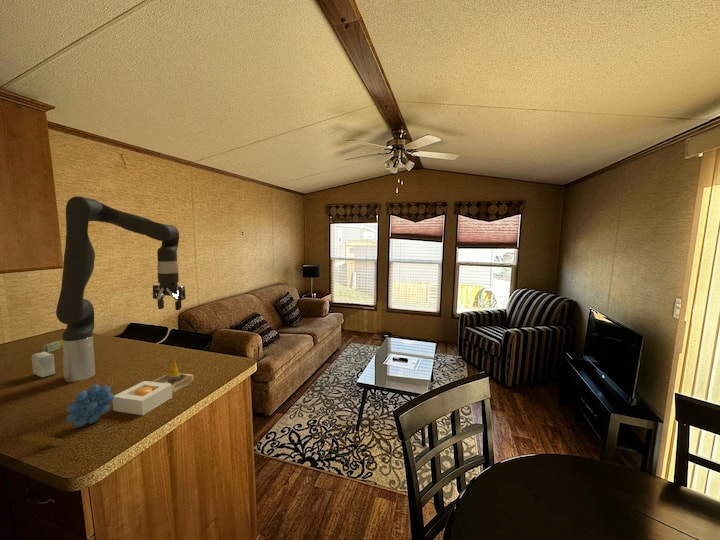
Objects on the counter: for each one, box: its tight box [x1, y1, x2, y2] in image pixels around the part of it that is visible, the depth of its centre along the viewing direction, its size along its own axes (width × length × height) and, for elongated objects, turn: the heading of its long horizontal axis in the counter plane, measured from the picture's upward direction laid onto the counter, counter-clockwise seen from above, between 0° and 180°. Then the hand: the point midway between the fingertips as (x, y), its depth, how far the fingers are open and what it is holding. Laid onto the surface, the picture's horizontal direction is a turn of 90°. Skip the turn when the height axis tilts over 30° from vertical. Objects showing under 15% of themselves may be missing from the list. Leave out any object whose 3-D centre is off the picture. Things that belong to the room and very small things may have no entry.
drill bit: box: [165, 359, 180, 384], centre depth 121 cm, size 5×5×10 cm
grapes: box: [65, 384, 115, 428], centre depth 96 cm, size 12×7×12 cm, turn 145°
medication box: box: [41, 338, 63, 353], centre depth 159 cm, size 12×3×4 cm, turn 171°
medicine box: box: [31, 351, 56, 378], centre depth 129 cm, size 8×4×9 cm, turn 65°
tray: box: [151, 372, 195, 395], centre depth 120 cm, size 11×11×3 cm
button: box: [135, 387, 152, 396], centre depth 107 cm, size 5×5×4 cm
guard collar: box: [112, 380, 173, 416], centre depth 107 cm, size 12×12×5 cm
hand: (169, 309), depth 130 cm, fingers open, 8 cm apart
